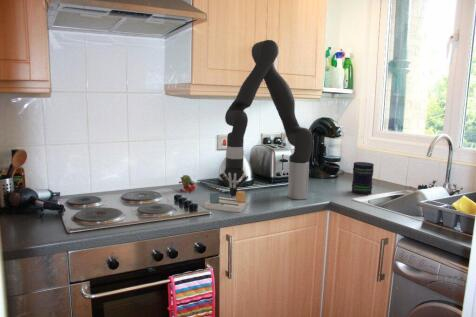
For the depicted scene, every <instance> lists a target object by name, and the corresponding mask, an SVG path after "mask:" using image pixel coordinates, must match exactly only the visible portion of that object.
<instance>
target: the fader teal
mask: <svg viewBox="0 0 476 317" xmlns="http://www.w3.org/2000/svg"><path fill="white" fill-rule="evenodd" d="M219 197H220V191H211V192H210V193H209V200H210V202H212V203H217V202H219Z"/></svg>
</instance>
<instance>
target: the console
mask: <svg viewBox="0 0 476 317" xmlns="http://www.w3.org/2000/svg"><path fill="white" fill-rule="evenodd" d="M249 205H250V201H249V200H248V199H245V201H244V202H238V201H236V198H231V197H222V196H219V202H217V203H212V202H210V199H209V200H207V201H205V202H204V203H203V208H204V209H208V210H209V209H211V210H218V211H225V212H232V213H241V212H242V211H243V210H245V208H247V207H248V206H249Z"/></svg>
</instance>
